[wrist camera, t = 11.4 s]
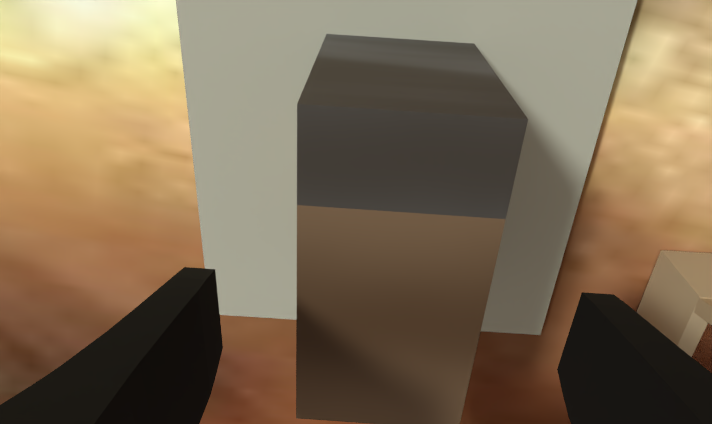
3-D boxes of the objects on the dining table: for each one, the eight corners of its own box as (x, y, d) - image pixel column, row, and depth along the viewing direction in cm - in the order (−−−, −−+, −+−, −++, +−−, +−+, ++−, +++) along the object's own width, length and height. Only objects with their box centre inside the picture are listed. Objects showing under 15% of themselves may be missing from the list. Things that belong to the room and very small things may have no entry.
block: (435, 281, 18) (458, 429, 13) (319, 274, 18) (296, 418, 13) (474, 43, 14) (528, 119, 9) (326, 33, 15) (297, 103, 9)
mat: (536, 325, 20) (540, 335, 19) (213, 305, 20) (209, 314, 20) (636, -28, 14) (644, -26, 14) (176, -55, 14) (170, -54, 14)
